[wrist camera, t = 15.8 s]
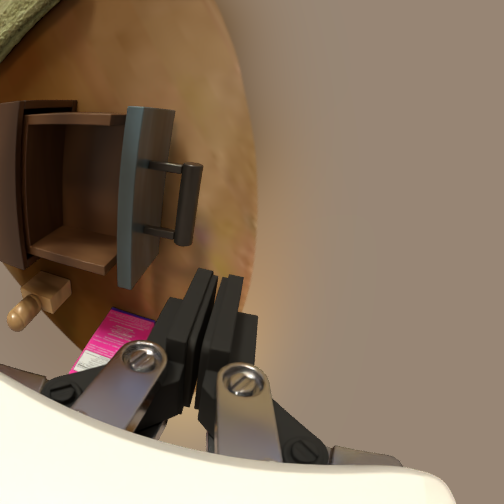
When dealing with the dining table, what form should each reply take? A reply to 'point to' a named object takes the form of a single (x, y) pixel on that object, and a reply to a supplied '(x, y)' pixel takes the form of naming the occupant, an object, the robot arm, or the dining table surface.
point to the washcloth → (19, 20)
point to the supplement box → (112, 338)
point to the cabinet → (17, 175)
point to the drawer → (102, 189)
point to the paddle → (38, 299)
